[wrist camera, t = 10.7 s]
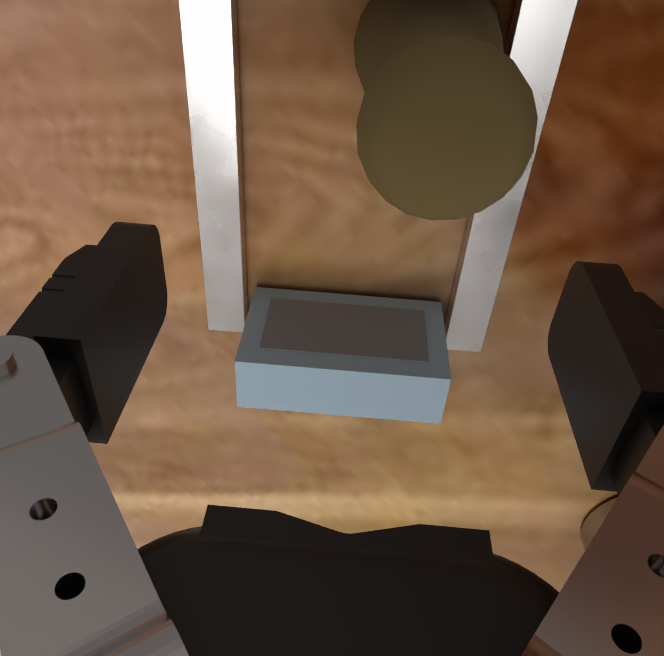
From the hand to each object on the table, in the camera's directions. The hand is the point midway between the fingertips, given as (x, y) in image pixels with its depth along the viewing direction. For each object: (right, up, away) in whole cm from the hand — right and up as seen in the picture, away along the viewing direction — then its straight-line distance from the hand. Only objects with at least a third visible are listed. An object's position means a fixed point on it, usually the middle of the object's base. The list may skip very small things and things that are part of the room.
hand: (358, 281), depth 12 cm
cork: (+3, +11, +13) cm, 17 cm away
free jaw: (0, 0, +22) cm, 22 cm away
